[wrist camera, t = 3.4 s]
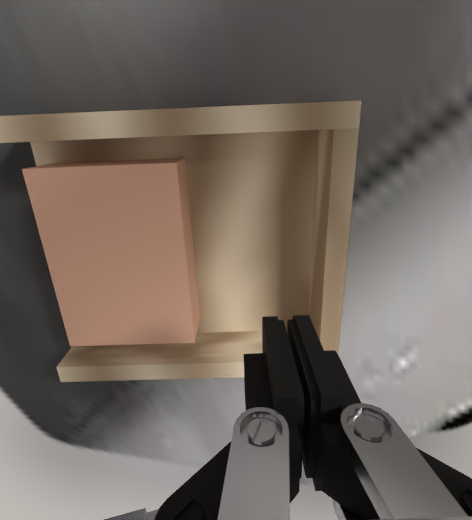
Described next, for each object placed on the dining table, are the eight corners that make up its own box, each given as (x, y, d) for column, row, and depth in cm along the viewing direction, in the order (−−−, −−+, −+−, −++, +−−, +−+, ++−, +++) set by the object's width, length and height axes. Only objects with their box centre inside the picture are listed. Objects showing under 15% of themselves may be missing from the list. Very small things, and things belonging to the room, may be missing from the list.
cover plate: (185, 157, 20) (176, 162, 17) (199, 317, 24) (194, 342, 21) (52, 163, 20) (21, 168, 17) (89, 320, 24) (69, 346, 21)
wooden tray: (336, 105, 19) (361, 100, 15) (321, 336, 25) (336, 374, 21) (32, 118, 20) (-19, 116, 16) (87, 343, 26) (60, 382, 22)
